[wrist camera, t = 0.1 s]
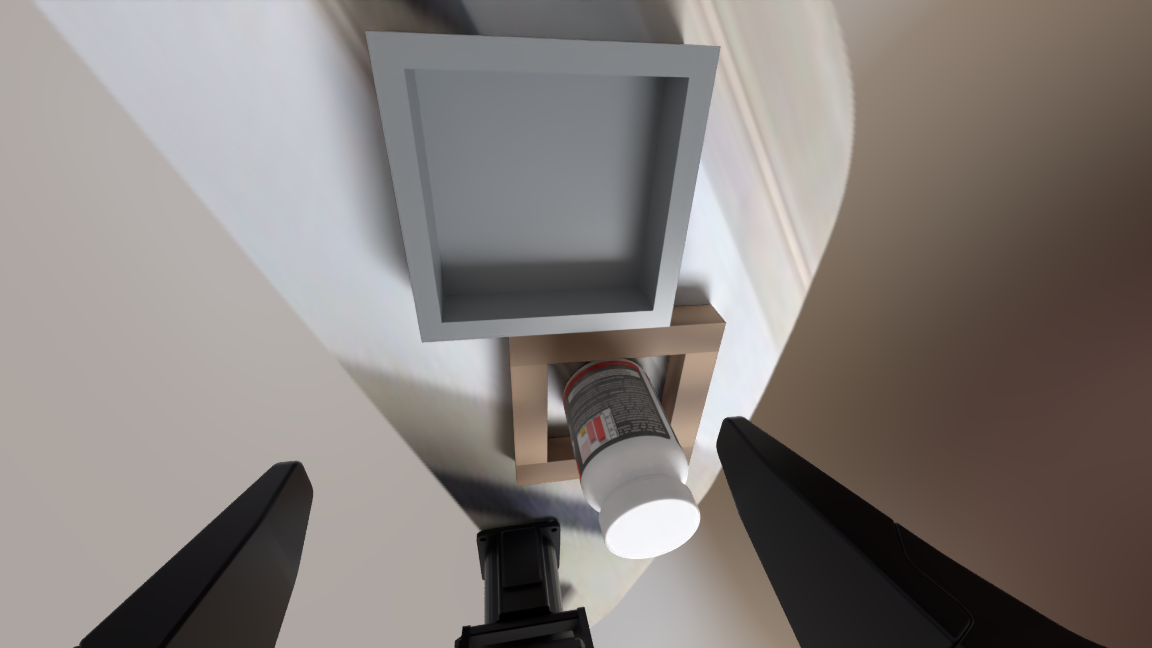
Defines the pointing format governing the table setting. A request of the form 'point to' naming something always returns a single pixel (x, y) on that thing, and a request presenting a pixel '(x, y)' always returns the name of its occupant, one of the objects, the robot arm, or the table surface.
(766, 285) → the table surface
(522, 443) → the socket block
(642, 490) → the pill bottle
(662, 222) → the parts tray
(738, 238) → the table surface
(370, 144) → the table surface
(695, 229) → the table surface
